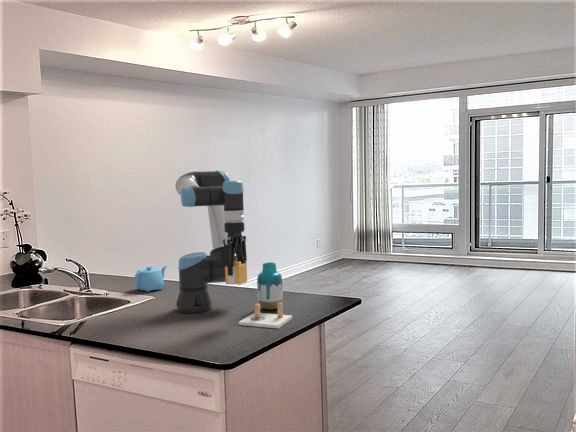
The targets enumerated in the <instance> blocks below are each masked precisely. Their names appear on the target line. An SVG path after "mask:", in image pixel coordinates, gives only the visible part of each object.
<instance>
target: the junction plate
mask: <svg viewBox="0 0 576 432" xmlns="http://www.w3.org/2000/svg"><path fill="white" fill-rule="evenodd" d="M283 303H284V302H283V301H282V302H279V303H277V307H278V308H277V313H276V314H275V313H266V312H265V313H264V312H261V306H260V304H259V303H254V312H253V313H251V314H250V315H248V316H246V317H244V318H243V319H241V320H240V321H238V325H239V326H247V327H248V326H249V327H256V328H257V327H259V328H269V329H280V328H281V327H283V326H284V325H285V324H287V323H288V322H290V321H291V320H293V315H290V314H289V315H288V314H284V312H283V311H284V310H283V309H284V306H283Z"/></svg>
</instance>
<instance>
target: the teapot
mask: <svg viewBox="0 0 576 432" xmlns="http://www.w3.org/2000/svg"><path fill="white" fill-rule="evenodd" d="M167 267H168V265H164V266H162V268H161V269H158V268H154V267H152V266H146V267H145V268H144V269H138V270H137V271H136V273H135V275H134V279H135V288H136V289H138V290H140V291H145V293H148V292H151V291H154V290H155V291H160V290H161V289H164V285H165V282H164V281H165V280H164V279H165V273H166V272H165V271H166V268H167Z"/></svg>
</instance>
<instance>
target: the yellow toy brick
mask: <svg viewBox="0 0 576 432" xmlns="http://www.w3.org/2000/svg"><path fill="white" fill-rule="evenodd" d="M247 264H248V263H246V264H242V263H241V261H234V266H233V267H235V280H236V284H235V285H238V286H239V285H240V286H241V285H242V284H244V283H247V282H248V268H247ZM225 279H226V282H225V285H229V284H228V267H225Z"/></svg>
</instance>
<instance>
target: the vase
mask: <svg viewBox="0 0 576 432" xmlns="http://www.w3.org/2000/svg"><path fill="white" fill-rule="evenodd" d="M283 284H284V283H283V277H282V274H281V273H280V272H279V271H278V270H277V263H276V262H270V261H269V262H264V263H262V269H261V272H260V273H259V274H258V275H257V278H256V293H257V294H256V295H257V302H258V304H260V308H261V309H264V310H276V309H277V310H278V307H277V303H279V302H282V303H283V299H284V296H283V295H284V294H283V293H284V290H283V289H284V285H283Z"/></svg>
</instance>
